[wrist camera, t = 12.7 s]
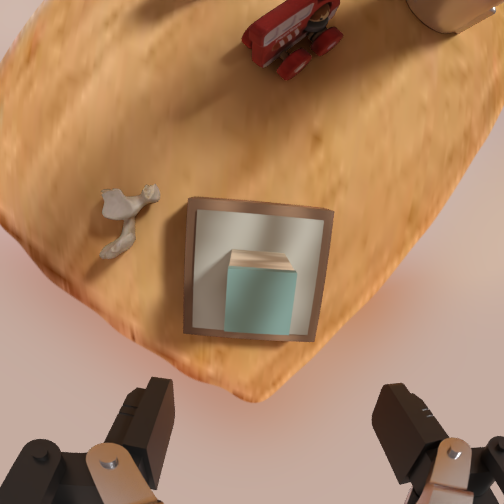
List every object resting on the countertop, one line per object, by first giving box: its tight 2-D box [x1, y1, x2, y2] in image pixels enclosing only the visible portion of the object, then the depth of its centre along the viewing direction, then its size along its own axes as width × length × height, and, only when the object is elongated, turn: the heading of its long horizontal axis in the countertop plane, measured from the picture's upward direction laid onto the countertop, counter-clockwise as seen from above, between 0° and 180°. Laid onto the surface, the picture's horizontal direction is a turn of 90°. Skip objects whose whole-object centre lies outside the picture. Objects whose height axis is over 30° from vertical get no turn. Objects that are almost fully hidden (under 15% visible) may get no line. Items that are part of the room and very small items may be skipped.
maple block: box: [224, 249, 297, 335], centre depth 27 cm, size 5×5×7 cm
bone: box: [99, 184, 160, 259], centre depth 29 cm, size 9×6×10 cm
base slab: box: [183, 197, 334, 342], centre depth 32 cm, size 14×14×4 cm
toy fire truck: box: [242, 0, 343, 80], centre depth 24 cm, size 7×12×10 cm, turn 133°
